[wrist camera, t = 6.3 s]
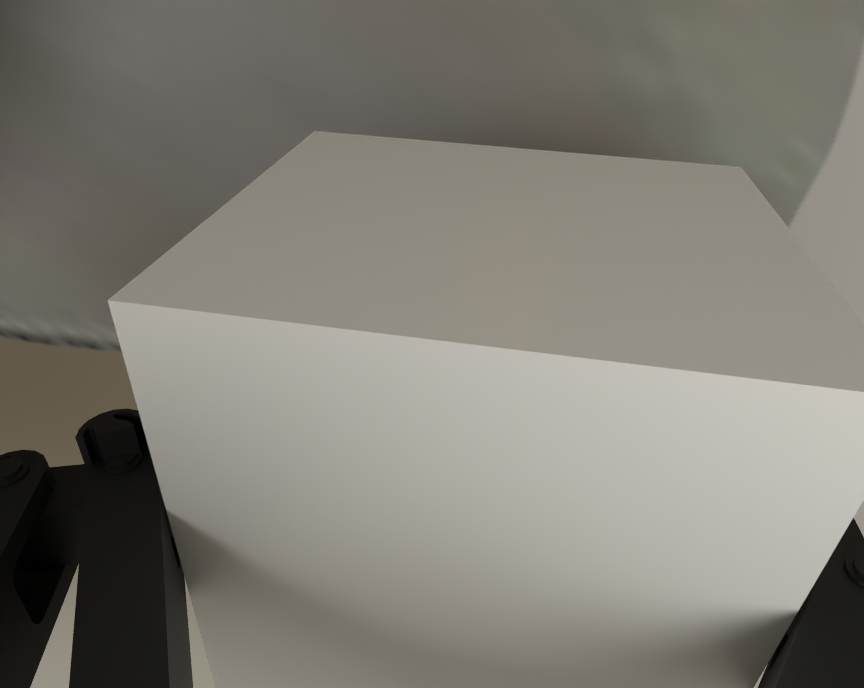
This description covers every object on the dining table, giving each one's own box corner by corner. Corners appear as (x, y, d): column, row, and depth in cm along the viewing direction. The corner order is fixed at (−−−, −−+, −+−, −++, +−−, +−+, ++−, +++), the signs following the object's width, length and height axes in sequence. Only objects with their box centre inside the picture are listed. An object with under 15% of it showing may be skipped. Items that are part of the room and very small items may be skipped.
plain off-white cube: (643, 482, 20) (692, 792, 13) (334, 438, 21) (218, 699, 14) (740, 166, 15) (923, 399, 7) (314, 130, 16) (108, 300, 9)
